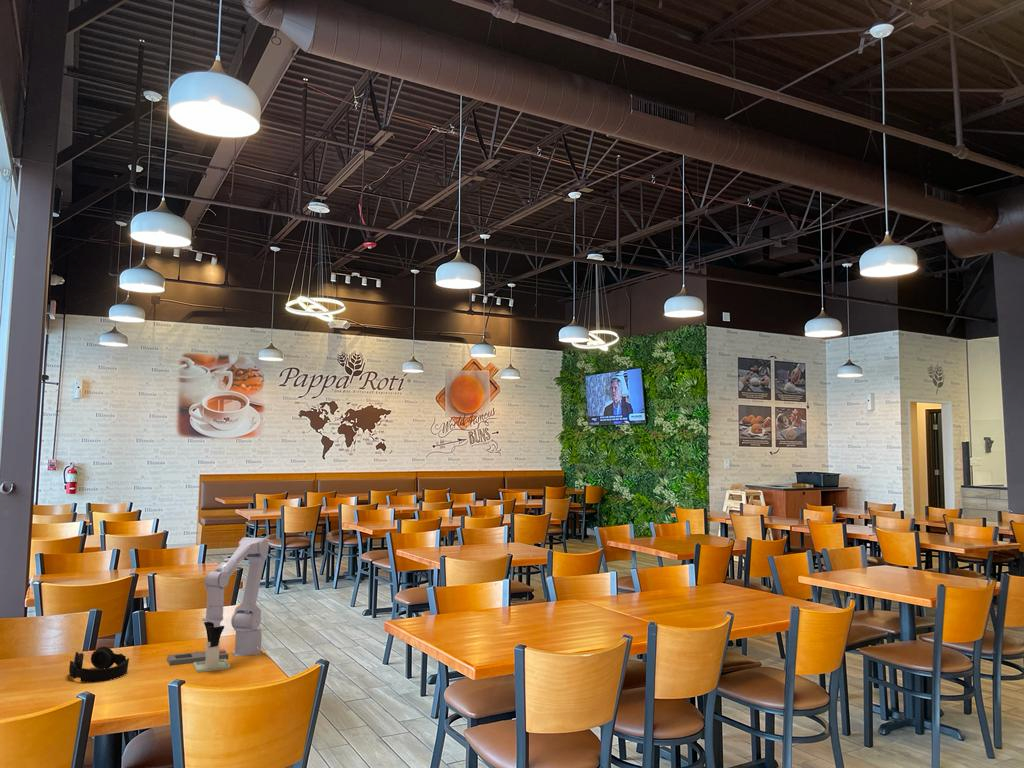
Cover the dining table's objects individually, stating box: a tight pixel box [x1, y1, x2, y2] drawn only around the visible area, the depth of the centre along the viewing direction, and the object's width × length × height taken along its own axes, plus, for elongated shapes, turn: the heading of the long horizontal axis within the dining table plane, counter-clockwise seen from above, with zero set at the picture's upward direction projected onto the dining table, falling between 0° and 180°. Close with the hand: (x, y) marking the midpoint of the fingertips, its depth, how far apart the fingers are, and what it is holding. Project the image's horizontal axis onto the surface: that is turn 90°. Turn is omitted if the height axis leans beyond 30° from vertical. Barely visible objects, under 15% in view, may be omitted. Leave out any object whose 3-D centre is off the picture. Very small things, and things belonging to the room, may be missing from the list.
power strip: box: [167, 638, 229, 666], centre depth 277 cm, size 20×9×9 cm, turn 120°
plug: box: [205, 642, 221, 668], centre depth 267 cm, size 4×4×9 cm
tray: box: [192, 659, 232, 673], centre depth 267 cm, size 11×11×1 cm
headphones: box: [68, 646, 130, 683], centre depth 257 cm, size 18×8×20 cm
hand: (212, 643), depth 268 cm, fingers open, 7 cm apart
